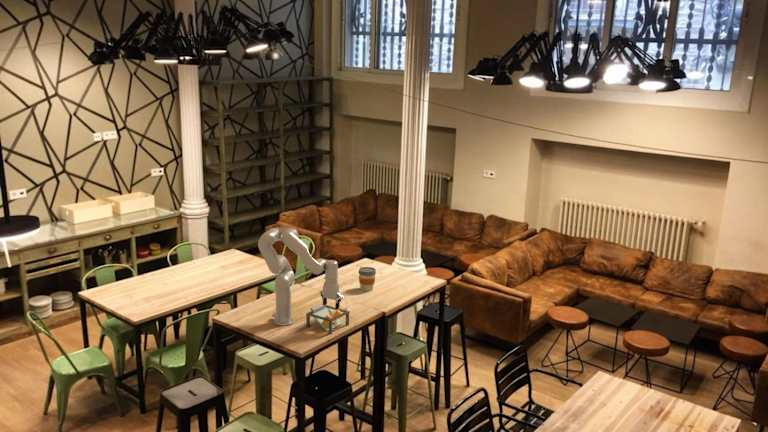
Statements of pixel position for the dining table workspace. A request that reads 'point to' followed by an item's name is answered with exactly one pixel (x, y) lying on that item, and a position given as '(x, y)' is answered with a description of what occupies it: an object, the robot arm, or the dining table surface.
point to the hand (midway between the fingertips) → (331, 306)
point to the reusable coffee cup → (367, 278)
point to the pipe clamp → (331, 318)
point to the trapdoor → (324, 315)
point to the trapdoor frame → (327, 318)
